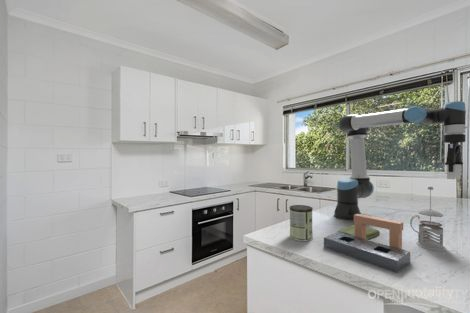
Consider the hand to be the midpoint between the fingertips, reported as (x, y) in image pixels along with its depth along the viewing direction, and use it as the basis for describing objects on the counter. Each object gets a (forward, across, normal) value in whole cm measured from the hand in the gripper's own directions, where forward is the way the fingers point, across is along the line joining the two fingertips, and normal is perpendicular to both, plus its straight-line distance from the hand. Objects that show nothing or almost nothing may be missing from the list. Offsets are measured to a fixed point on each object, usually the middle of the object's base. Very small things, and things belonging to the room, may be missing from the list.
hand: (454, 178), depth 110 cm
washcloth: (+28, -36, +28) cm, 54 cm away
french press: (+27, -28, +4) cm, 39 cm away
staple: (+27, -47, +16) cm, 57 cm away
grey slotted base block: (+27, -58, +17) cm, 66 cm away
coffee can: (+28, -62, +43) cm, 80 cm away
